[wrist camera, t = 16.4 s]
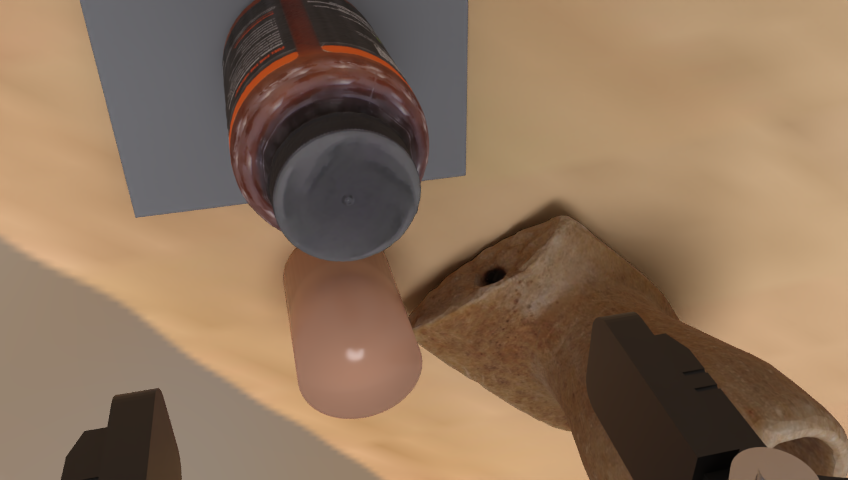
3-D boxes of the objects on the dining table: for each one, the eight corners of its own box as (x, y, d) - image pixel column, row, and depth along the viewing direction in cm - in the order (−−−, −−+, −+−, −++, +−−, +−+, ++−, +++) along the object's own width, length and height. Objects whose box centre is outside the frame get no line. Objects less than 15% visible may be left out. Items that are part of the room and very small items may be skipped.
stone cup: (720, 299, 43) (926, 514, 31) (563, 428, 46) (695, 674, 33) (569, 139, 35) (765, 342, 23) (390, 306, 38) (478, 570, 25)
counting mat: (462, -127, 28) (469, -124, 27) (459, 165, 34) (465, 175, 34) (58, -107, 25) (53, -103, 24) (137, 205, 32) (135, 217, 31)
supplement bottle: (208, 115, 29) (208, 278, 20) (238, -39, 27) (255, 66, 17) (355, 145, 32) (417, 305, 22) (396, 4, 29) (486, 119, 20)
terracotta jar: (386, 222, 35) (421, 312, 29) (390, 308, 38) (423, 406, 32) (277, 237, 34) (291, 333, 28) (289, 324, 37) (304, 428, 31)
